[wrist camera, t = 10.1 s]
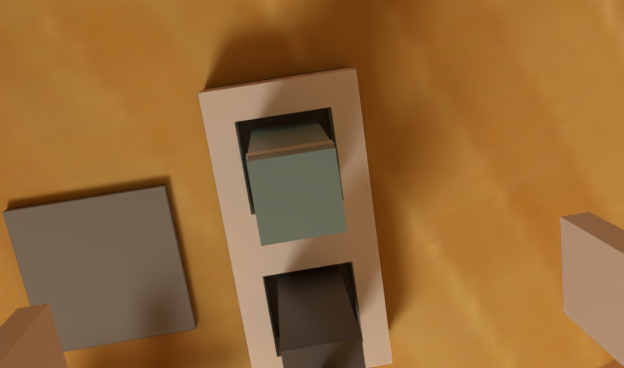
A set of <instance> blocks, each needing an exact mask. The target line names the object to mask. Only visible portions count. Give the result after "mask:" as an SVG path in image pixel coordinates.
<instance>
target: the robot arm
mask: <svg viewBox="0 0 624 368" xmlns="http://www.w3.org/2000/svg"><path fill="white" fill-rule="evenodd" d="M561 245H562V277H563V309H564V313H565V314H566V315H567V316H568V317H569V318H570V319H571V320H572V321H574V322H575V323H576V324H577V325H578V326H579V327H580V328H581V329H583V330H584V331H585V332H586V333H587V334H588V335H589V336H590V337H591V338H593V339H594V340H595V341H596V342H597V343H598V344H599V345H600V346H601V347H603V348H604V349H605V350H606V351H607V352H608V353H609V354H610V355H611V356H613V357H614V358H615V359H616V360H617V361H618V362H619V363H620V364H622V365H623V366H624V230H623V229H621V228H619V227H617V226H615V225H613V224H611V223H609V222H607V221H605V220H604V219H602V218H600V217H598V216H596V215H594V214H592V213H590V212H586V213H580V214H574V215H568V216H562V217H561ZM0 368H68V366H67V363H66V360H65V356H64V353H63V349H62V346H61V343H60V339H59V336H58V332H57V329H56V326H55V322H54V319H53V315H52V312H51V308H50V305H49V303H47V304H41V305H35V306H29V307H23V308H18V309H17V310H16V311H15V312H14V313H13V314H12V315H11V316H10V317H9V318H8V320H7V321H6V322H5V323H4V324H3V325H2V326H1V327H0Z"/></svg>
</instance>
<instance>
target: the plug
mask: <svg viewBox="0 0 624 368" xmlns="http://www.w3.org/2000/svg"><path fill="white" fill-rule="evenodd" d="M246 163H247V169H248V175H249V180H250V186H251V191H252V197H253V203H254V208H255V214H256V219H257V225H258V231H259V236H260V242H261V246H265V245H271V244H277V243H283V242H289V241H295V240H301V239H307V238H313V237H319V236H325V235H331V234H337V233H343V232H347V229H346V222H345V215H344V207H343V200H342V193H341V185H340V178H339V171H338V163H337V156H336V149H335V146H334V142H333V141H332V140H330V139H329V138H328V136H327V135H326V133H325V132H324V130H323V129H322V127H321V126H320V124H319V123H318V121H317V120H316V119H313V120H306V121H300V122H293V123H287V124H281V125H274V126H268V127H261V128H255V129H252V130H251V136H250V142H249V148H248V153H246Z"/></svg>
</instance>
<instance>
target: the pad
mask: <svg viewBox="0 0 624 368" xmlns="http://www.w3.org/2000/svg"><path fill="white" fill-rule="evenodd" d="M3 215H4V219H5V222H6V225H7V229H8V232H9V235H10V239H11V242H12V245H13V249H14V252H15V255H16V259H17V262H18V265H19V269H20V272H21V275H22V279H23V282H24V285H25V289H26V292H27V295H28V299H29V302H30V305H31V306H35V305H41V304H47V303H49V305H50V308H51V312H52V315H53V319H54V322H55V326H56V329H57V332H58V336H59V339H60V343H61V346H62V349H63V352H65V351H71V350H77V349H83V348H89V347H95V346H100V345H106V344H112V343H118V342H124V341H130V340H135V339H141V338H147V337H153V336H159V335H165V334H171V333H176V332H182V331H188V330H194V329H196V326H197V325H196V321H195V316H194V312H193V307H192V303H191V298H190V293H189V289H188V284H187V280H186V275H185V271H184V266H183V261H182V257H181V252H180V248H179V243H178V239H177V234H176V230H175V225H174V220H173V216H172V211H171V207H170V202H169V198H168V193H167V188H166V184H165V185H159V186H152V187H146V188H140V189H134V190H127V191H121V192H115V193H109V194H102V195H96V196H90V197H84V198H77V199H71V200H65V201H59V202H52V203H46V204H40V205H34V206H27V207H21V208H15V209H9V210H5V211H4V212H3Z"/></svg>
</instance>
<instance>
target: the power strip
mask: <svg viewBox="0 0 624 368" xmlns="http://www.w3.org/2000/svg"><path fill="white" fill-rule="evenodd" d="M198 95H199V100H200V105H201V111H202V116H203V121H204V126H205V131H206V136H207V141H208V146H209V151H210V157H211V162H212V167H213V172H214V177H215V182H216V187H217V192H218V198H219V203H220V208H221V213H222V218H223V223H224V228H225V233H226V238H227V244H228V249H229V254H230V259H231V264H232V269H233V274H234V279H235V285H236V290H237V295H238V300H239V305H240V310H241V315H242V320H243V325H244V331H245V336H246V341H247V346H248V351H249V356H250V361H251V366H252V368H283V363H282V357H281V350H280V330H279V309H278V288H277V274H280V273H286V272H292V271H298V270H304V269H310V268H316V267H322V266H328V265H334V264H338V267H339V270H340V273H341V276H342V279H343V282H344V285H345V288H346V291H347V294H348V297H349V301H350V304H351V307H352V310H353V313H354V316H355V319H356V322H357V325H358V328H359V331H360V334H361V337H362V344H363V351H364V358H365V366H366V368H369V367H375V366H381V365H386V364H392V355H391V347H390V339H389V331H388V322H387V314H386V306H385V298H384V290H383V282H382V274H381V266H380V257H379V249H378V241H377V233H376V225H375V217H374V209H373V200H372V192H371V184H370V176H369V168H368V160H367V152H366V144H365V135H364V127H363V119H362V111H361V103H360V95H359V87H358V79H357V70H356V69H355V68H351V67H345V68H339V69H332V70H326V71H319V72H313V73H306V74H299V75H293V76H286V77H280V78H273V79H267V80H260V81H254V82H247V83H241V84H234V85H228V86H221V87H215V88H208V89H203V90H202V91H201V92H199V93H198ZM313 119H316V120H317V121H318V123H319V124H320V126H321V127H322V129H323V130H324V132H325V133H326V135H327V136H328V138H329V139H330V140H332V141H333V142H334V146H335V149H336V156H337V163H338V171H339V178H340V185H341V193H342V200H343V207H344V215H345V222H346V229H347V232H343V233H337V234H331V235H325V236H319V237H313V238H307V239H301V240H295V241H289V242H283V243H277V244H271V245H265V246H261V242H260V236H259V231H258V225H257V219H256V214H255V208H254V203H253V197H252V191H251V186H250V180H249V175H248V169H247V163H246V153H248V148H249V142H250V136H251V130H252V129H255V128H261V127H268V126H274V125H281V124H287V123H293V122H300V121H306V120H313Z"/></svg>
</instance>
